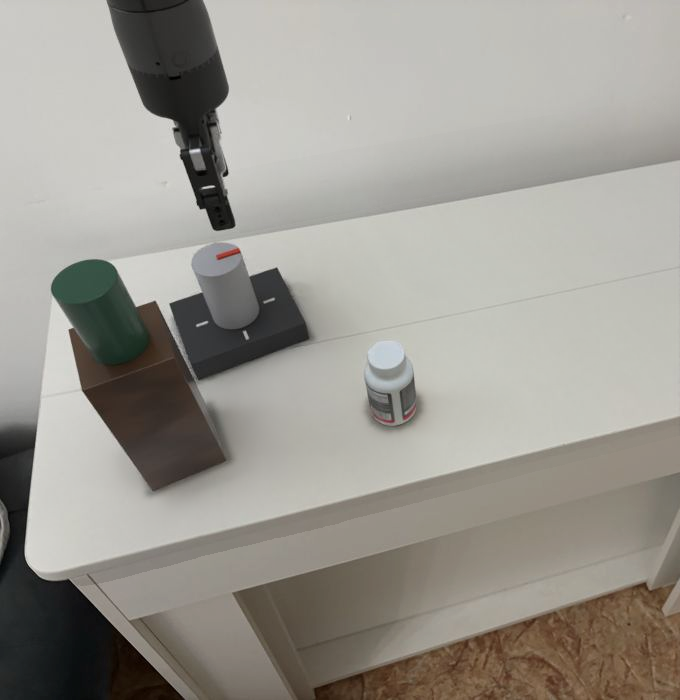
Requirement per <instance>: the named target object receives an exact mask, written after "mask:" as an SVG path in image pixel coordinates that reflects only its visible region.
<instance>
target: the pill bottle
mask: <svg viewBox="0 0 680 700" xmlns="http://www.w3.org/2000/svg"><path fill="white" fill-rule="evenodd" d="M363 378H364V383H365V388H366V393H367V399H368V403H369V409H370V413H371V415H372V417H373V419H374V420H375V421H377V422H378V423H380V424H382V425H385V426H390V427H391V426H392V427H393V426H399V425H402V424H404V423H406V422H408V421H409V420H411V418H413V416H414V414H416V410H417V407H418V406H417V405H418V404H417V403H418V402H417V401H418V399H417V391H416V381H415V370H414V366H413V363H412V361H411V360H410V359H409V358H408V357H407V355H406V351H405V349H404V347H403V346H402V345H401V344H400V343H399V342H397V341H395V340H390V339H389V340H386V339H385V340H380V341H377V342H376V343H375V344H373V345H372V346H371V347H370V348H369V349H368V352H367V362H366V364H365V366H364V368H363Z"/></svg>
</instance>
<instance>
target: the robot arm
mask: <svg viewBox="0 0 680 700" xmlns="http://www.w3.org/2000/svg"><path fill="white" fill-rule="evenodd" d="M105 1H106V4H107V7H108V10H109V15H110V19H111V23H112V28H113V30H114V33H115V36H116V39H117V41H118V44H119V47H120V49H121V52H122V54H123V57H124V59H125V61H126V65H127V67H128V69H129V73H130V74H131V77H132V79H133V82H134V84H135V89H136V91H137V93H138V95H139V98H140V101H141V103H142V105H143V107H144V108H145V109H146V110H147V111H148V112H149V113H151V114H152V115H154V116H156V117H159V118H163V119H168V120H171V121H172V122H173V125H174V126H173V127H171V128H172V135H173V138H174V141H175V144H176V146H178V147H179V149H180V150H179V158H180V161H182V164H183V167H184V169H185V173H186V176H187V178H188V180H189V183H190V185H191V189H192V192H193V195H194V197H195V204H196V206H197V207H198V209H199V210H205V212H206V215H207V217H208V220H209V223H210V226H211V228H212V230H213V231H215V232H220V231H226V230H231V229H234V228H235V227H236V218H235V216H234V212H233V210H232V207H231V204H230V200H229V197H228V195H229V190H228V188H226V185H225V180H224V178H226V177H228V176H229V173H230V172H229V167H228V164H227V161H226V157H225V155H224V151H223V148H222V143H221V142H222V141H221V140H222V129H221V124H220V118H219V114H218V110H217V109H218V108H219V107H220V106H222V105H223V104H224V102H225V101H226V99H227V98H228V96H229V93H230V86H229V83H228V78H227V74H226V71H225V68H224V64H223V59H222V56H221V54H220V49H219V45H218V42H217V39H216V35H215V32H214V28H213V24H212V21H211V18H210V14H209V11H208V8H207V6H206V4H205V1H204V0H105ZM211 186H212V187H211ZM206 187H207V188H206Z"/></svg>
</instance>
